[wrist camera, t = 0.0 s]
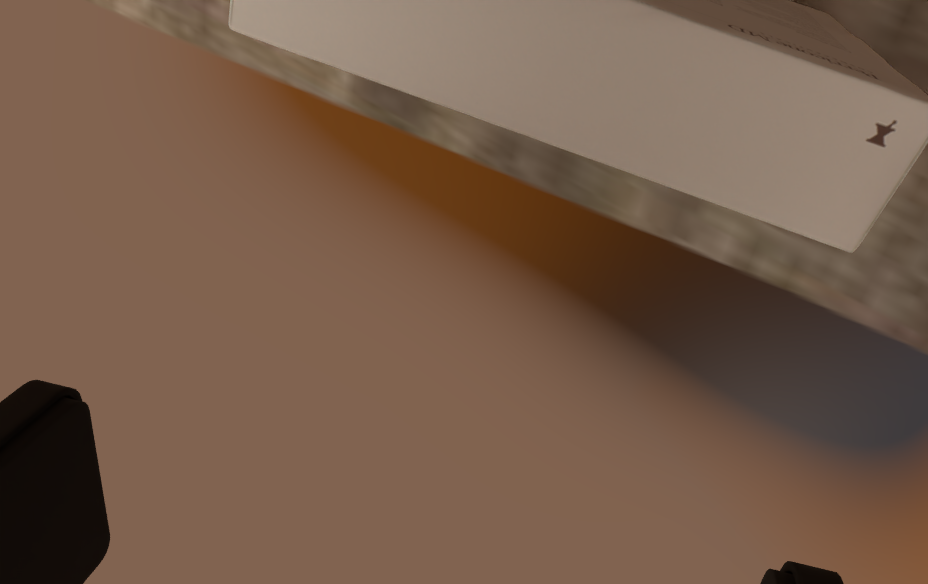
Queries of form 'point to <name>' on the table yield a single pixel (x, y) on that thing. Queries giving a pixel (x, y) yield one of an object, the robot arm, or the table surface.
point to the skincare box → (648, 91)
